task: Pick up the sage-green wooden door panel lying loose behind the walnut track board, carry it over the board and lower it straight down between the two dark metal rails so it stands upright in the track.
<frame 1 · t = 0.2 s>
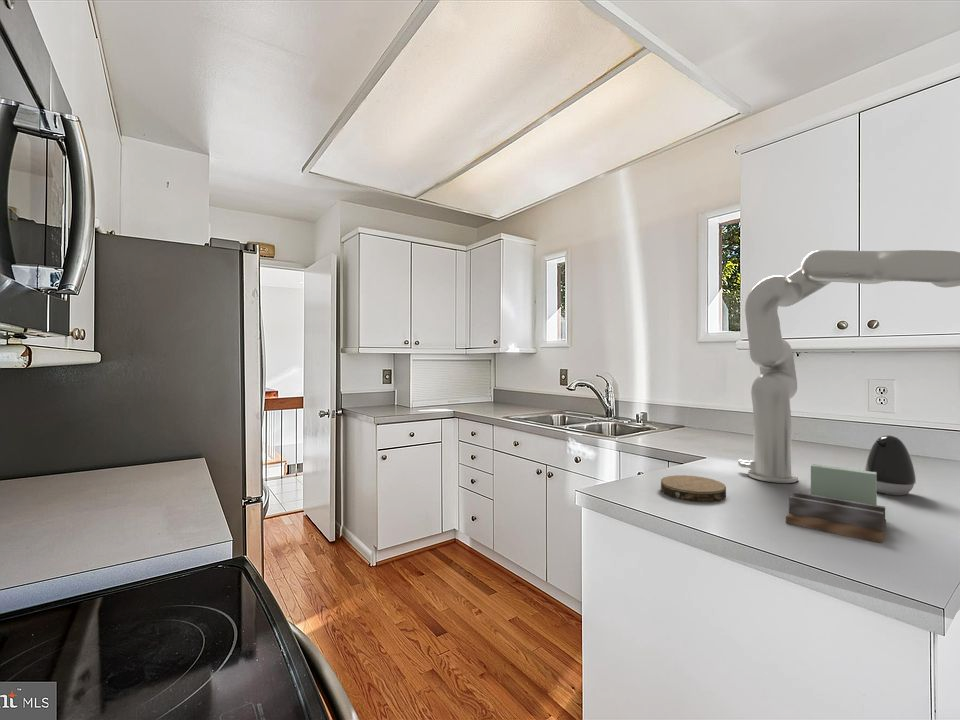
door panel: (842, 511, 108), on the countertop
track board: (835, 524, 100), on the countertop
brown flat round disc: (692, 494, 124), on the countertop
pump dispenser: (889, 493, 122), on the countertop
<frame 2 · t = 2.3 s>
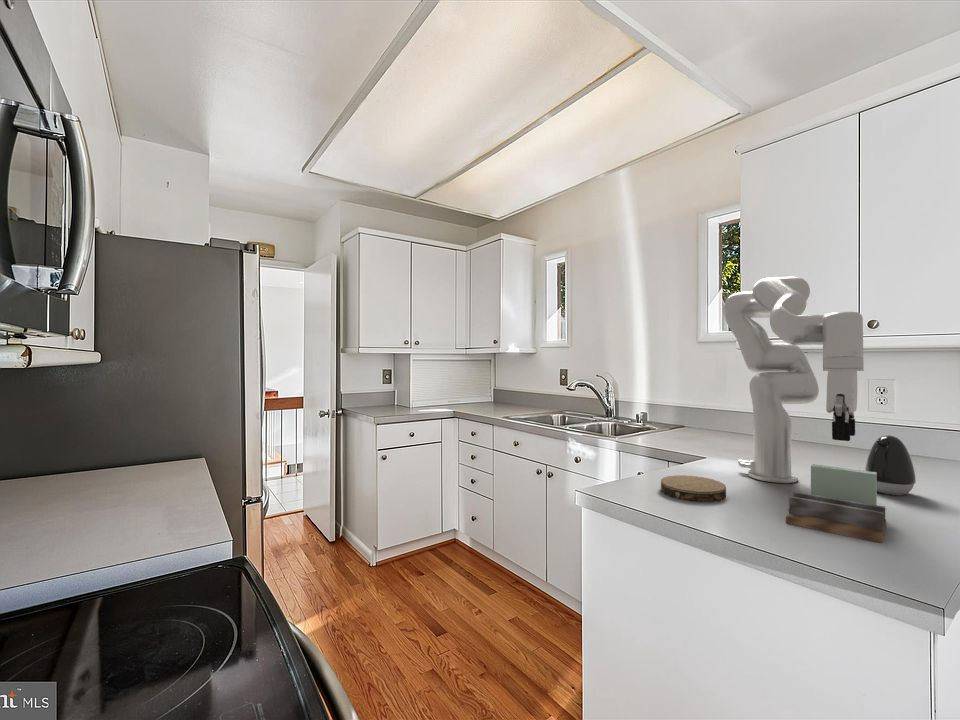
hand: (844, 437, 108), 17 cm above the countertop, tool pointing down, fingers open, 9 cm apart
nothing on the countertop moved.
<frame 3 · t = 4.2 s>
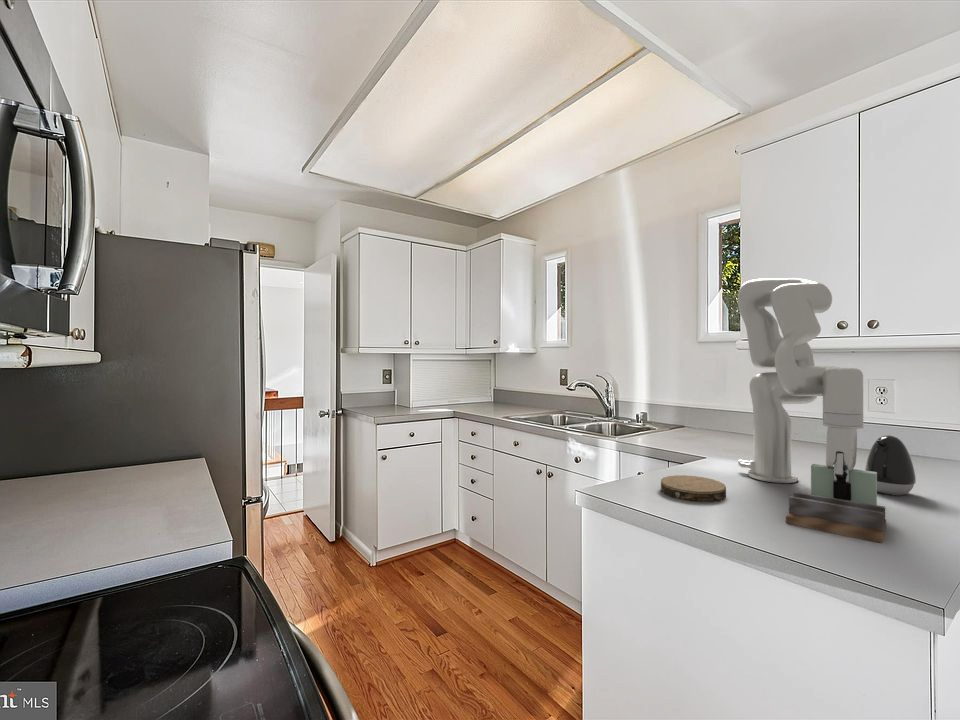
hand: (842, 497, 108), 3 cm above the countertop, tool pointing down, fingers closed on door panel, 2 cm apart
door panel: (842, 510, 108), on the countertop, touching gripper
everything else where it was.
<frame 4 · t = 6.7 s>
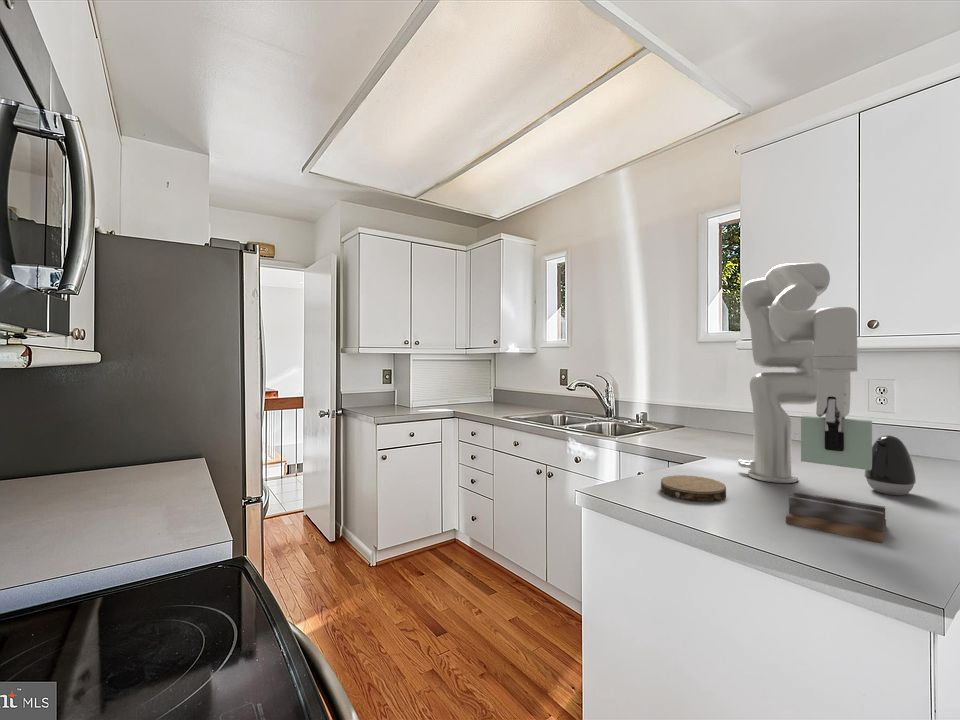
hand: (835, 448, 100), 17 cm above the countertop, tool pointing down, fingers closed on door panel
door panel: (835, 464, 100), point 13 cm above the countertop, touching gripper
everything else where it was.
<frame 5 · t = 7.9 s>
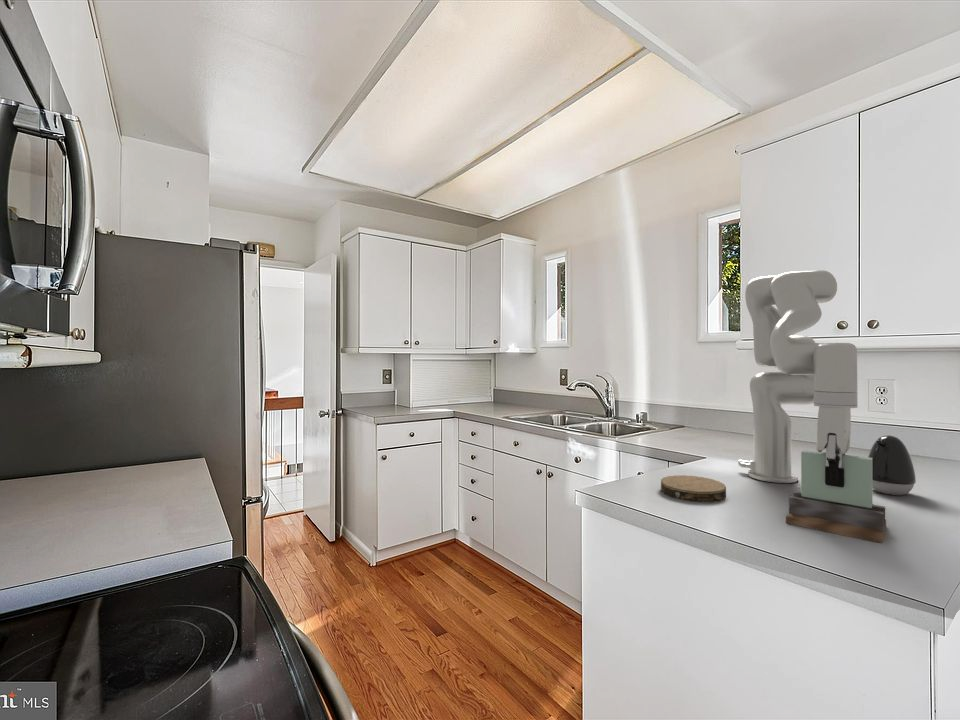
hand: (835, 483, 100), 9 cm above the countertop, tool pointing down, fingers closed on door panel
door panel: (835, 500, 100), point 5 cm above the countertop, touching gripper
everything else where it was.
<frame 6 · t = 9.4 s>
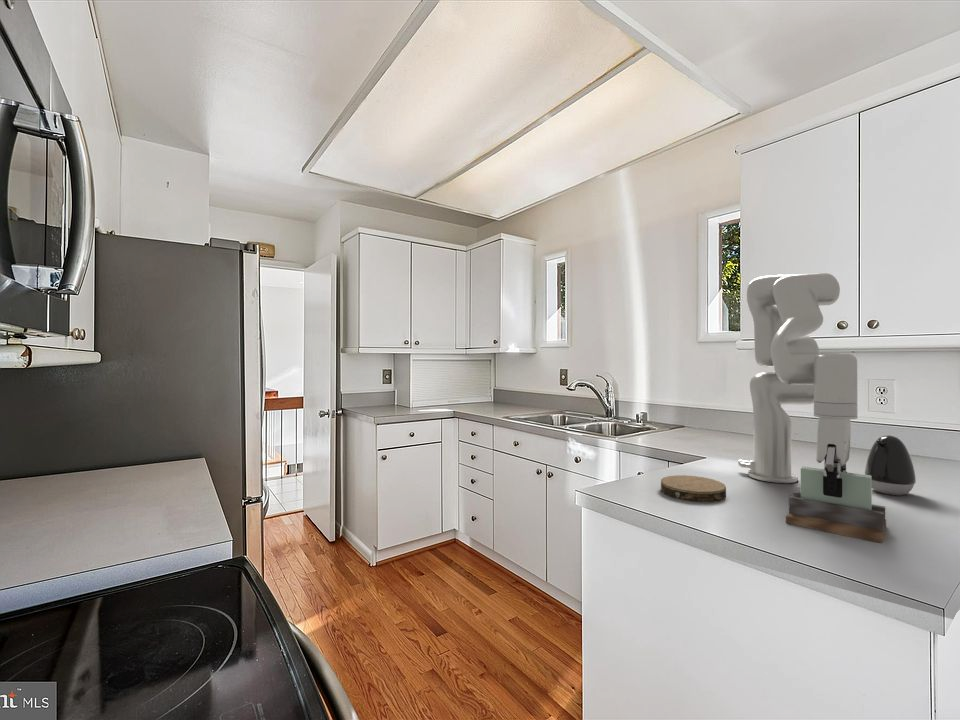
hand: (835, 491, 100), 7 cm above the countertop, tool pointing down, fingers open, 7 cm apart
door panel: (835, 517, 100), point 1 cm above the countertop, touching track board
everything else where it was.
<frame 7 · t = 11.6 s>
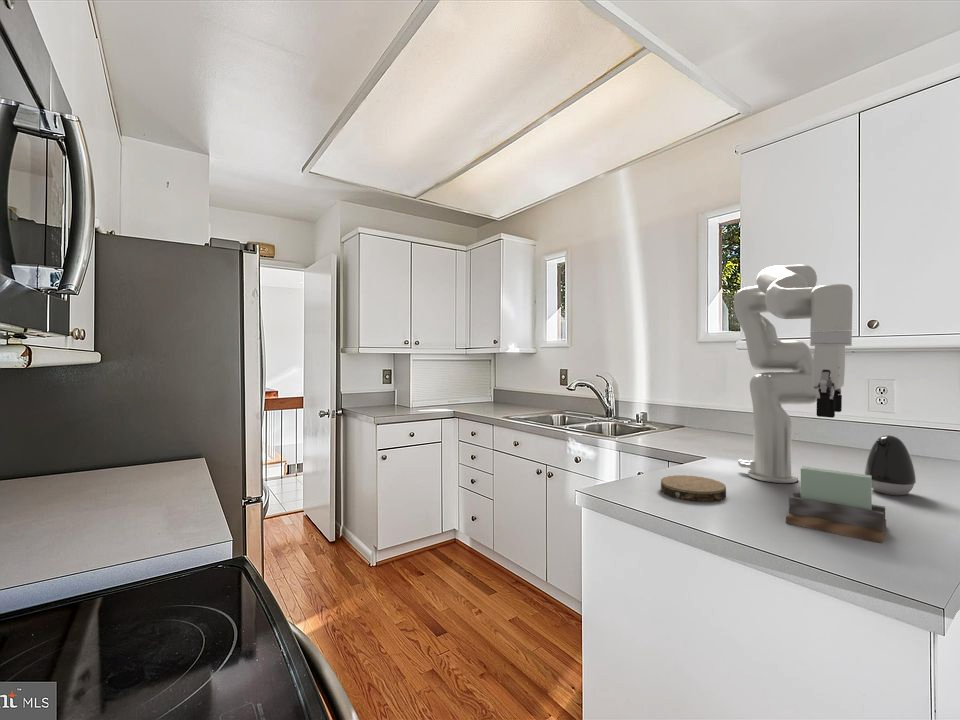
hand: (829, 414, 105), 23 cm above the countertop, tool pointing down, fingers open, 9 cm apart
nothing on the countertop moved.
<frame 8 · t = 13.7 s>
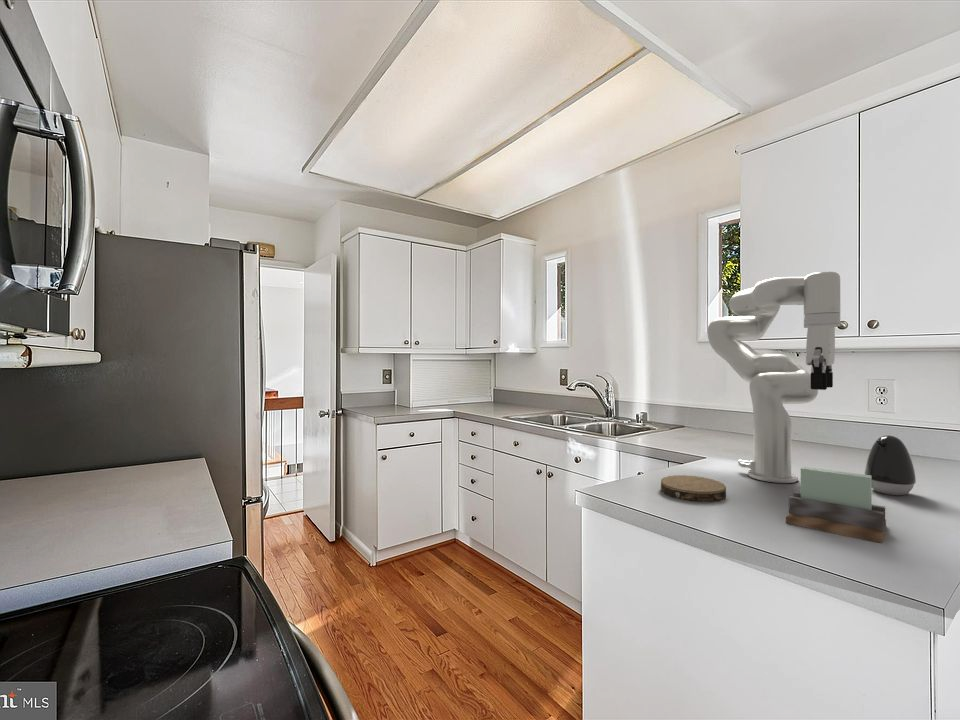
hand: (821, 388, 117), 28 cm above the countertop, tool pointing down, fingers open, 9 cm apart
nothing on the countertop moved.
at the end: door panel 0.1 cm off-centre on the track board, point 1.5 cm above the track board's base; door panel tilted 0°; the gripper is holding nothing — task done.
